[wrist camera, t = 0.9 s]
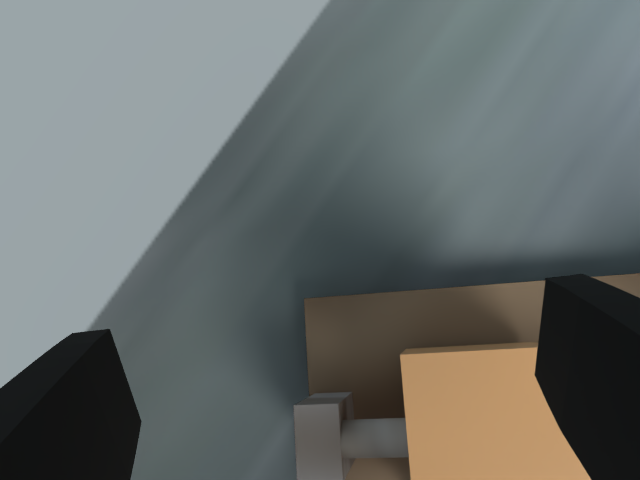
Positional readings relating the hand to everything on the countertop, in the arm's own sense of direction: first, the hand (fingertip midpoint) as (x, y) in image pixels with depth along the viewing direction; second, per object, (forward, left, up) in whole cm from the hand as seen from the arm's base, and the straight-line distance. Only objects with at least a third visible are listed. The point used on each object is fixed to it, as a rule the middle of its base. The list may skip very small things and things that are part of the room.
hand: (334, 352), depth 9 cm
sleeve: (-3, -3, -12) cm, 12 cm away
